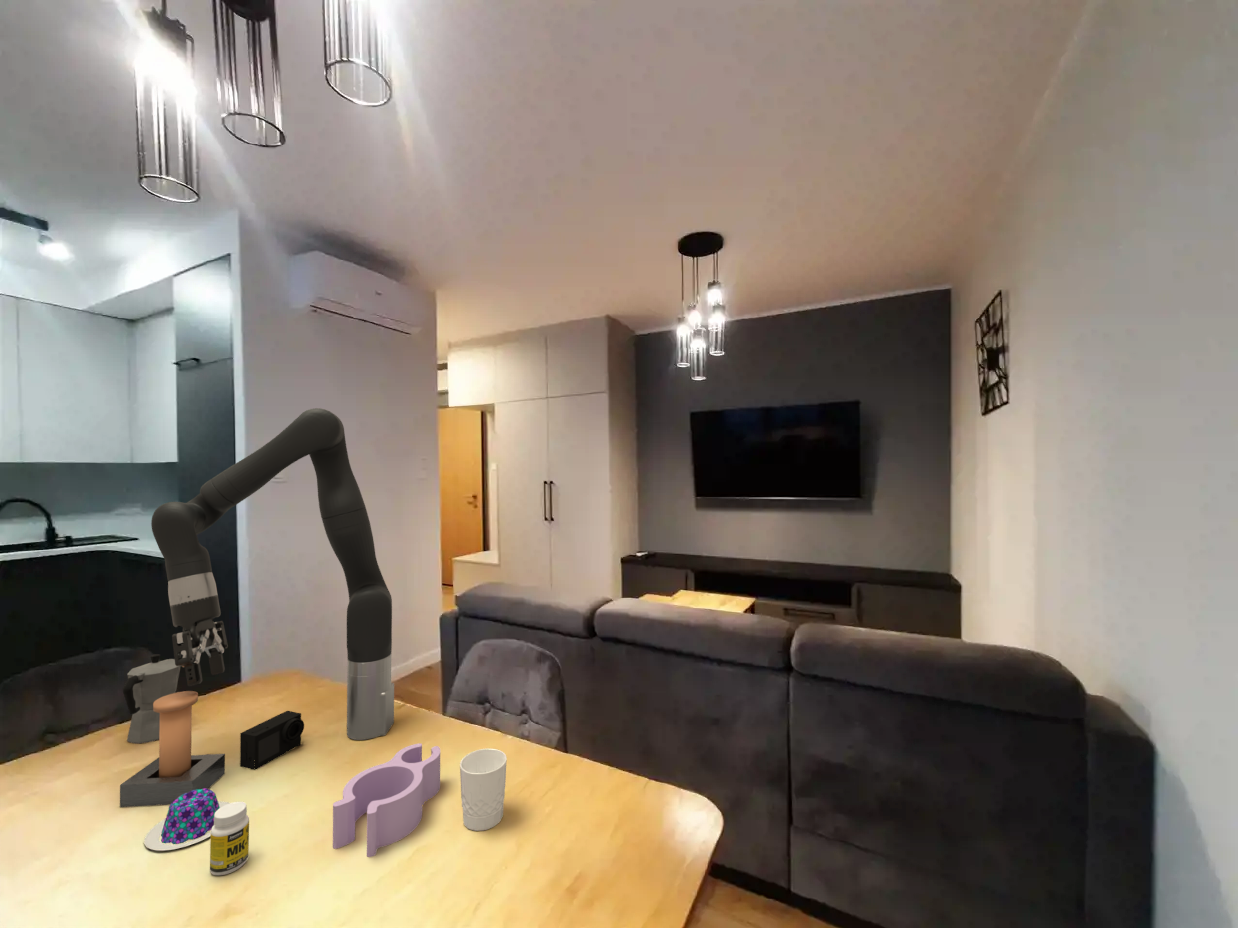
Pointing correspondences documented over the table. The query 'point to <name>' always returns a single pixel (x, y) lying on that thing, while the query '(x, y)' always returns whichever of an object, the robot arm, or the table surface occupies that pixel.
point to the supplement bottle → (229, 838)
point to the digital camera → (270, 739)
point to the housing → (170, 782)
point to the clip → (387, 798)
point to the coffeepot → (148, 696)
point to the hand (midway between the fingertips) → (207, 678)
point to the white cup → (483, 788)
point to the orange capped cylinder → (175, 732)
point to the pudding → (185, 820)
